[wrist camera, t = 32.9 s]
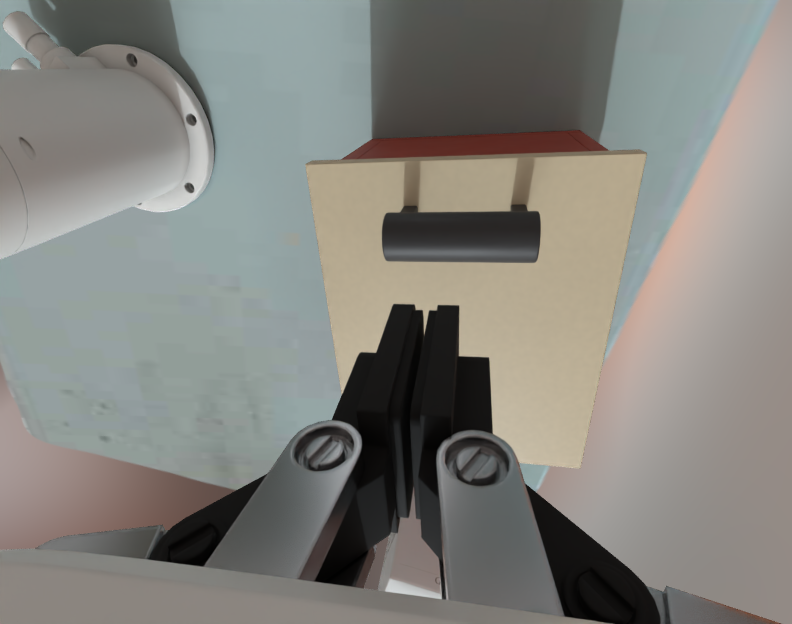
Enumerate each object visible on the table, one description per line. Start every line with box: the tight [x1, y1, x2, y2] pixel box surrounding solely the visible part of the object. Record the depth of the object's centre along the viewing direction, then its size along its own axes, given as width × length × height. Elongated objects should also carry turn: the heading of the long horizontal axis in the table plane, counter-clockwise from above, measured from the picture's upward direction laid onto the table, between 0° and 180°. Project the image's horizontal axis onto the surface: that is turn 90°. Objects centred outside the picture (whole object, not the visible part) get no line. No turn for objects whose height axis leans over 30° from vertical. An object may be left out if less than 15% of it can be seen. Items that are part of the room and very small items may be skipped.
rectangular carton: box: [378, 489, 441, 599], centre depth 44 cm, size 9×9×15 cm
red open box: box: [341, 130, 609, 160], centre depth 30 cm, size 18×15×13 cm
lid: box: [306, 150, 647, 468], centre depth 22 cm, size 19×15×5 cm
